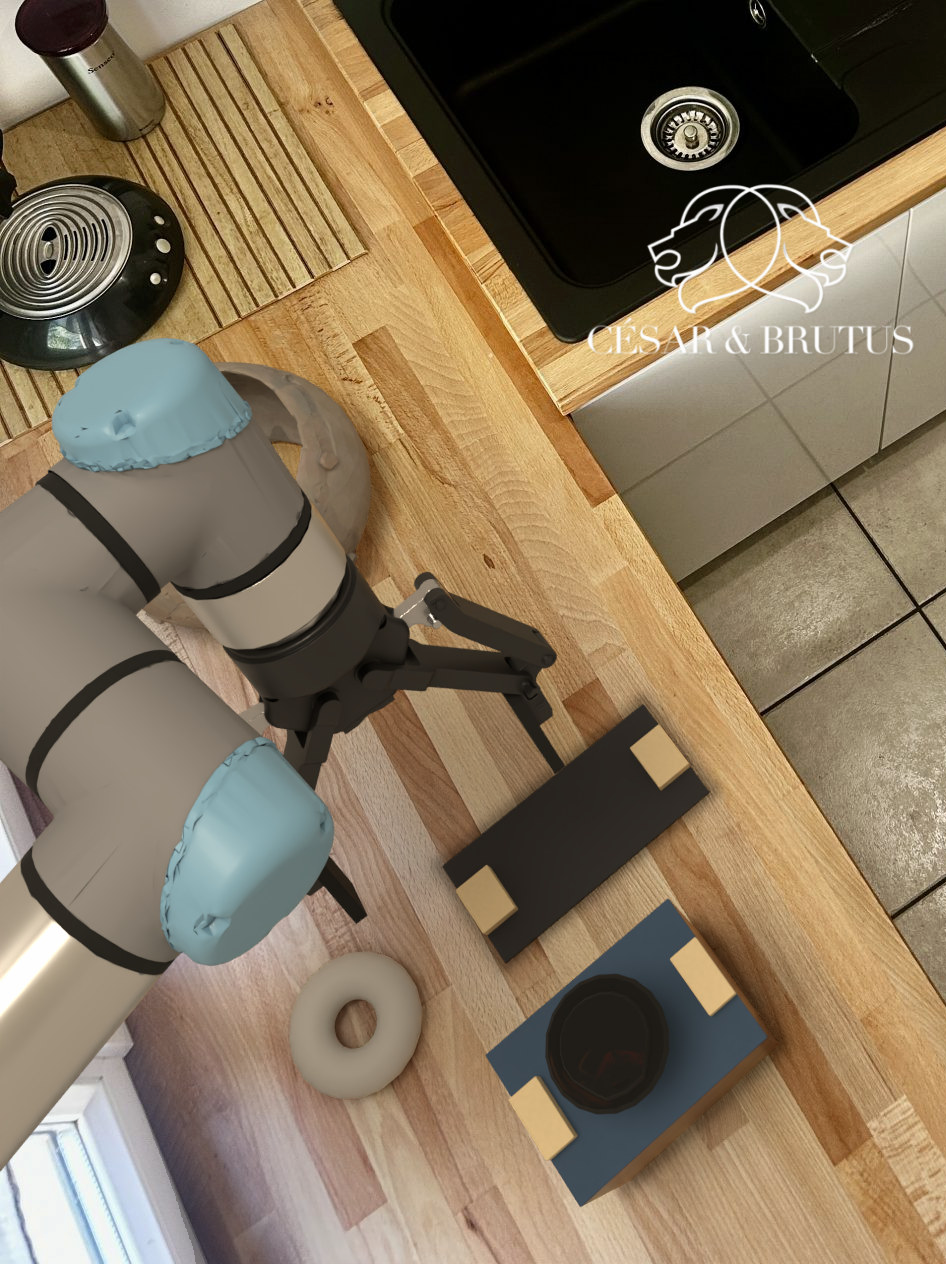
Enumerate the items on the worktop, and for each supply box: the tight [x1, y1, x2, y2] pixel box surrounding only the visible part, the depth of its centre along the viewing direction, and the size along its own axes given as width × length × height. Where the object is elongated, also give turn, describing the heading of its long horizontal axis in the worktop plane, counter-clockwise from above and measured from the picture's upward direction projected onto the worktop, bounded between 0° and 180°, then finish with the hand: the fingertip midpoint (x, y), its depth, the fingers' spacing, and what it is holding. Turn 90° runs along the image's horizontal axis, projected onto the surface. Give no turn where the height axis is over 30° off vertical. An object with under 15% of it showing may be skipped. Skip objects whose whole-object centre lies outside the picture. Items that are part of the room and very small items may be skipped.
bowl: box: [142, 361, 372, 630], centre depth 126 cm, size 23×23×15 cm
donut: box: [288, 950, 423, 1101], centre depth 112 cm, size 10×4×10 cm
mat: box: [442, 703, 710, 964], centre depth 118 cm, size 20×9×2 cm, turn 129°
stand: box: [582, 902, 780, 1207], centre depth 101 cm, size 14×10×24 cm
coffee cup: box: [545, 974, 669, 1115], centre depth 85 cm, size 7×7×10 cm
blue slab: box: [485, 898, 767, 1208], centre depth 89 cm, size 14×10×2 cm
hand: (455, 828), depth 88 cm, fingers open, 13 cm apart
